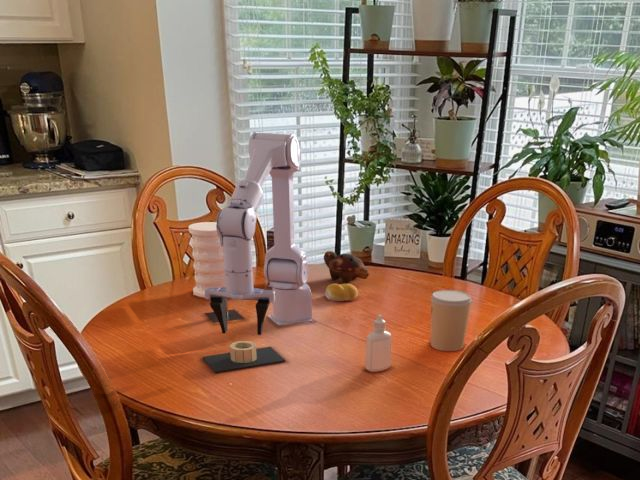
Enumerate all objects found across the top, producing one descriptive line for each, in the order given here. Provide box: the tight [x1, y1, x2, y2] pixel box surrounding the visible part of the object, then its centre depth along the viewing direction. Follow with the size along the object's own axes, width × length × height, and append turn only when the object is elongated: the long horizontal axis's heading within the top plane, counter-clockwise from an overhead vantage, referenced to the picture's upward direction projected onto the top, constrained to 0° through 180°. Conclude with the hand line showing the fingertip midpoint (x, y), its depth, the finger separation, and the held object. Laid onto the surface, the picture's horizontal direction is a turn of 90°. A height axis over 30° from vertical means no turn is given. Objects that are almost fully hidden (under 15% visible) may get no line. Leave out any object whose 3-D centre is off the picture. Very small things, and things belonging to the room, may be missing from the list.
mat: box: [202, 346, 286, 374], centre depth 157 cm, size 16×9×1 cm, turn 117°
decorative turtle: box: [323, 250, 370, 284], centre depth 211 cm, size 10×15×8 cm, turn 67°
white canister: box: [430, 289, 473, 352], centre depth 166 cm, size 9×9×12 cm
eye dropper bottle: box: [365, 313, 393, 373], centre depth 152 cm, size 4×6×12 cm
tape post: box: [204, 299, 245, 324], centre depth 180 cm, size 8×8×5 cm
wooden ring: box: [229, 340, 257, 363], centre depth 156 cm, size 6×6×3 cm
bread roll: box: [324, 283, 359, 302], centre depth 198 cm, size 8×9×4 cm
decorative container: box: [188, 221, 226, 298], centre depth 194 cm, size 12×12×18 cm
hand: (242, 332), depth 154 cm, fingers open, 7 cm apart
